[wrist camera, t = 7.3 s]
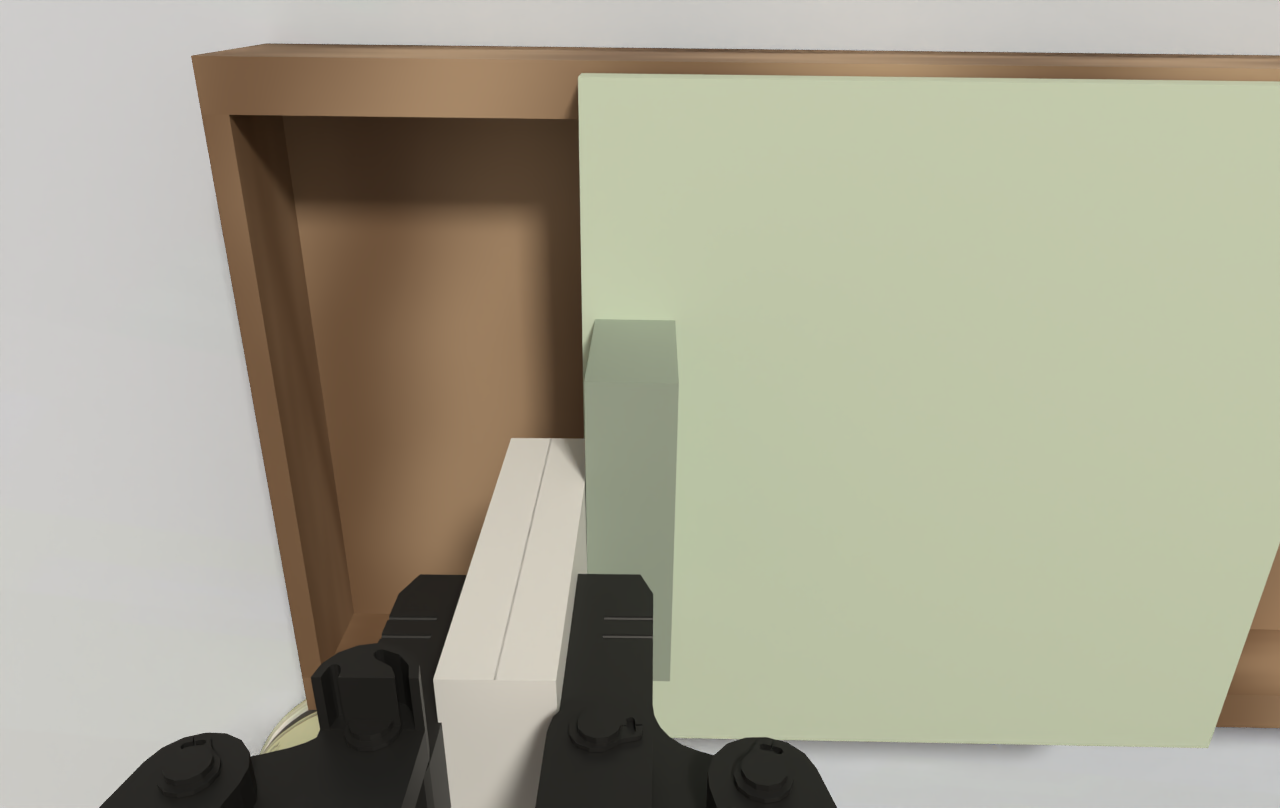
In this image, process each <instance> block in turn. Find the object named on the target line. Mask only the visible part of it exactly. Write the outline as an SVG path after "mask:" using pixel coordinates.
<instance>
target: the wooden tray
mask: <svg viewBox="0 0 1280 808" xmlns="http://www.w3.org/2000/svg"><path fill="white" fill-rule="evenodd" d="M191 58H192V63H193V69H194V75H195V80H196V86H197V91H198V97H199V103H200V108H201V114H202V119H203V125H204V130H205V136H206V142H207V147H208V153H209V158H210V164H211V170H212V175H213V181H214V186H215V192H216V197H217V203H218V209H219V214H220V220H221V225H222V231H223V237H224V242H225V248H226V253H227V259H228V264H229V270H230V276H231V281H232V287H233V292H234V298H235V304H236V309H237V315H238V320H239V326H240V331H241V337H242V343H243V348H244V354H245V359H246V365H247V371H248V376H249V382H250V387H251V393H252V398H253V404H254V410H255V415H256V421H257V426H258V432H259V438H260V443H261V449H262V454H263V460H264V466H265V471H266V477H267V482H268V488H269V493H270V499H271V505H272V510H273V516H274V521H275V527H276V533H277V538H278V544H279V549H280V555H281V560H282V566H283V572H284V577H285V583H286V588H287V594H288V600H289V605H290V611H291V616H292V622H293V627H294V633H295V639H296V644H297V650H298V655H299V661H300V667H301V672H302V678H303V683H304V689H305V694H306V700H307V706H308V710H316V704H315V699H314V693H313V688H312V683H311V676H312V675H313V674H314V672H315V671H316V670H317V669H318V667H319V666H320V665H321V664H322V663H323V662H325V661H326V660H328V659H329V658H331V657H332V656H334V655H335V654H337V653H338V652H341V651H344V650H346V649H349V648H352V647H355V646H358V645H365V644H373V643H378V641H379V639H381V637H382V632H383V629H384V627H385V625H386V622H387V620H389V615H390V613H391V610H392V608H393V606H394V603H395V601H396V599H397V596H398V594H399V593H400V592H401V591H402V590H403V589H404V588H405V587H407V586H408V585H409V584H410V583H411V582H412V581H413V580H414V579H415V578H416V577H418V576H419V575H420V574H431V575H467V573H468V570H469V567H470V564H471V561H472V558H473V555H474V552H475V548H476V545H477V542H478V539H479V536H480V533H481V530H482V527H483V524H484V521H485V517H486V514H487V511H488V508H489V505H490V502H491V499H492V496H493V493H494V490H495V487H496V483H497V480H498V477H499V474H500V471H501V468H502V465H503V462H504V459H505V456H506V453H507V449H508V446H509V443H510V440H511V438H570V439H584V406H583V346H582V286H581V226H580V167H579V107H578V77H579V75H580V74H581V73H622V74H705V75H788V76H871V77H954V78H1037V79H1120V80H1202V81H1280V56H1273V55H1188V54H1104V53H1019V52H934V51H849V50H764V49H680V48H595V47H510V46H425V45H340V44H261V45H255V46H249V47H243V48H236V49H230V50H224V51H218V52H212V53H206V54H199V55H193V56H191ZM1216 727H1250V728H1280V544H1279V547H1278V550H1277V553H1276V555H1275V558H1274V561H1273V564H1272V567H1271V570H1270V573H1269V575H1268V578H1267V581H1266V584H1265V587H1264V590H1263V593H1262V595H1261V598H1260V601H1259V604H1258V607H1257V610H1256V613H1255V615H1254V618H1253V621H1252V624H1251V627H1250V630H1249V633H1248V635H1247V638H1246V641H1245V644H1244V647H1243V650H1242V653H1241V655H1240V658H1239V661H1238V664H1237V667H1236V670H1235V673H1234V676H1233V678H1232V681H1231V684H1230V687H1229V690H1228V693H1227V696H1226V698H1225V701H1224V704H1223V707H1222V710H1221V713H1220V716H1219V718H1218V721H1217V724H1216Z"/></svg>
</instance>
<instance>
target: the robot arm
mask: <svg viewBox="0 0 1280 808" xmlns="http://www.w3.org/2000/svg"><path fill="white" fill-rule="evenodd" d="M311 683H312V688H313V693H314V699H315V704H316V710H317V715H318V721H319V726H320V731H319V733H318V735H317V737H316V738H314V739H312V740H310V741H308V742H306V743H303V744H300V745H297V746H293V747H290V748H286V749H282V750H278V751H273V752H269V753H265V754H260V755H256V756H252V757H250V753H249V751H248V749H247V748H246V746H245V745H244V743H243V742H242V740H240V739H238V738H235V737H233V736H231V735H229V734H225V733H203V734H198V735H194V736H189V737H185V738H182V739H180V740H178V741H176V742H174V743H171V744H169V745H167V746H165V747H163V748H161V749H160V750H159V751H157V752H156V753H155V754H154V755H152V756H151V757H150V758H149V759H147V760H146V761H145V762H143V763H142V765H141V766H140V767H139V768H138V769H137V770H136V771H135V772H134V773H133V774H132V775H131V776H130V777H129V778H128V779H127V780H126V781H125V782H124V783H123V784H122V785H121V786H120V787H119V788H118V789H117V790H116V791H115V792H114V793H113V794H112V795H111V796H110V797H109V798H108V799H107V800H106V801H105V802H104V803H103V804H102V805H101V806H100V807H99V808H837V807H836V805H835V803H834V801H833V799H832V797H831V795H830V793H829V791H828V790H827V788H826V786H825V784H824V782H823V780H822V778H821V776H820V774H819V772H818V770H817V768H816V767H815V766H814V765H813V763H812V762H811V761H810V760H809V758H808V757H807V756H806V755H805V753H803V752H801V751H800V750H798V749H796V748H795V747H793V746H792V745H790V744H788V743H787V742H783V741H779V740H775V739H772V738H768V737H746V738H743V739H740V740H737V741H734V742H731V743H728V744H727V745H725V746H724V747H723V748H722V749H721V750H720V751H718V752H717V753H716V754H715V755H710V754H707V753H703V752H700V751H697V750H694V749H691V748H689V747H686V746H684V745H681V744H680V743H678V742H677V741H675V740H674V739H672V738H671V737H669V736H668V735H667V734H666V733H665V731H664V730H663V729H662V728H661V727H660V726H659V724H658V722H657V720H656V718H655V716H654V710H653V593H652V591H651V590H650V588H649V587H648V585H647V584H646V582H645V581H644V579H643V578H642V576H641V575H640V574H587V526H586V464H585V439H570V438H511V440H510V443H509V446H508V449H507V453H506V456H505V459H504V462H503V465H502V468H501V471H500V474H499V477H498V480H497V483H496V487H495V490H494V493H493V496H492V499H491V502H490V505H489V508H488V511H487V514H486V517H485V521H484V524H483V527H482V530H481V533H480V536H479V539H478V542H477V545H476V548H475V552H474V555H473V558H472V561H471V564H470V567H469V570H468V573H467V575H431V574H420V575H419V576H418V577H416V578H415V579H414V580H413V581H412V582H411V583H410V584H409V585H408V586H407V587H405V588H404V589H403V590H402V591H401V592H400V593H399V594H398V596H397V599H396V601H395V603H394V606H393V608H392V610H391V613H390V615H389V620H387V622H386V625H385V627H384V629H383V632H382V637H381V639H379V641H378V643H373V644H365V645H358V646H355V647H352V648H349V649H346V650H344V651H341V652H338V653H337V654H335V655H334V656H332V657H331V658H329V659H328V660H326V661H325V662H323V663H322V664H321V665H320V666H319V667H318V669H317V670H316V671H315V672H314V674H313V675H312V676H311Z"/></svg>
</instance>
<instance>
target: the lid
mask: <svg viewBox="0 0 1280 808" xmlns="http://www.w3.org/2000/svg"><path fill="white" fill-rule="evenodd" d="M578 107H579V167H580V226H581V286H582V346H583V406H584V439H585V464H586V526H587V574H640V575H641V576H642V578H643V579H644V581H645V582H646V584H647V585H648V587H649V588H650V590H651V591H652V593H653V710H654V716H655V718H656V720H657V722H658V724H659V726H660V727H661V728H662V729H663V730H664V731H665V733H666V734H667V735H668V736H669V737H671V738H708V739H743V738H746V737H768V738H772V739H775V740H813V741H865V742H918V743H970V744H1023V745H1076V746H1128V747H1181V748H1208V747H1209V744H1210V741H1211V738H1212V736H1213V733H1214V730H1215V727H1216V724H1217V721H1218V718H1219V716H1220V713H1221V710H1222V707H1223V704H1224V701H1225V698H1226V696H1227V693H1228V690H1229V687H1230V684H1231V681H1232V678H1233V676H1234V673H1235V670H1236V667H1237V664H1238V661H1239V658H1240V655H1241V653H1242V650H1243V647H1244V644H1245V641H1246V638H1247V635H1248V633H1249V630H1250V627H1251V624H1252V621H1253V618H1254V615H1255V613H1256V610H1257V607H1258V604H1259V601H1260V598H1261V595H1262V593H1263V590H1264V587H1265V584H1266V581H1267V578H1268V575H1269V573H1270V570H1271V567H1272V564H1273V561H1274V558H1275V555H1276V553H1277V550H1278V547H1279V544H1280V81H1202V80H1120V79H1037V78H954V77H871V76H788V75H705V74H622V73H581V74H580V75H579V77H578Z"/></svg>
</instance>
